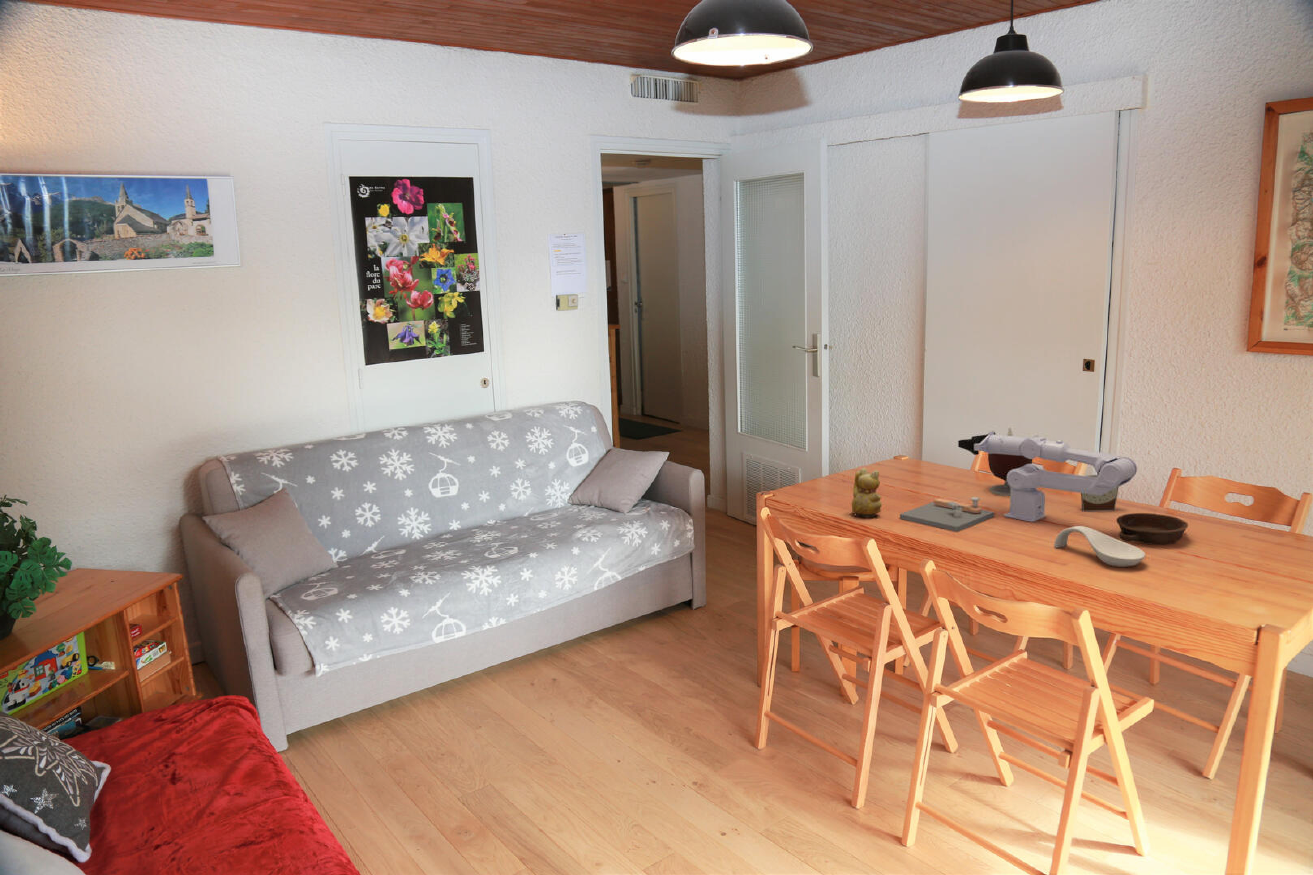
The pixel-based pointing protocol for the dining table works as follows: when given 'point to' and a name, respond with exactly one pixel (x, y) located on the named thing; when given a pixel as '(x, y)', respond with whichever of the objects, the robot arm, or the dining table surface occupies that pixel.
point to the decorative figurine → (866, 493)
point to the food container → (1099, 500)
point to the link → (965, 507)
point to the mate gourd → (1005, 468)
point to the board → (944, 517)
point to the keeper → (956, 509)
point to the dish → (1151, 528)
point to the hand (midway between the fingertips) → (965, 441)
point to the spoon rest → (1105, 547)
